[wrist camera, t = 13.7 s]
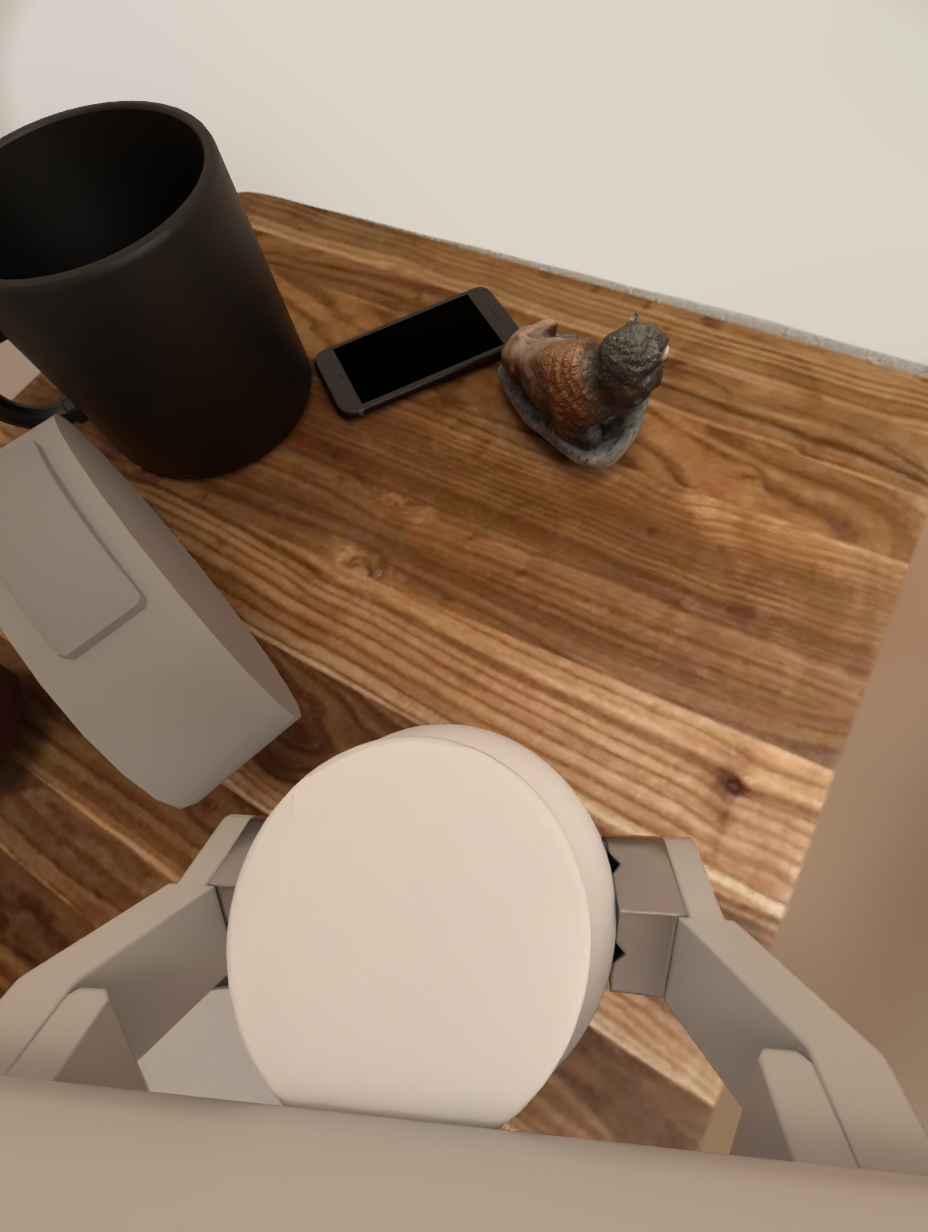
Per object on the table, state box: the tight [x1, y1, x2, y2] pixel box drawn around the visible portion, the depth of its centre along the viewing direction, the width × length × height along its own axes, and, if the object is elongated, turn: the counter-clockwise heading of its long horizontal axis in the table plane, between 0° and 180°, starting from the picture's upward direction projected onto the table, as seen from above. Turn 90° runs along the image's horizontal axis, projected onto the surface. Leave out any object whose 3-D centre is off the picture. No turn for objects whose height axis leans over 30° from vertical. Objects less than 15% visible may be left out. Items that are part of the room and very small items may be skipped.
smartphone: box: [315, 287, 519, 419], centre depth 41 cm, size 7×15×1 cm, turn 115°
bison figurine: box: [497, 312, 670, 468], centre depth 33 cm, size 12×7×10 cm, turn 35°
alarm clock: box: [0, 414, 301, 809], centre depth 28 cm, size 23×6×13 cm, turn 41°
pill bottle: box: [226, 724, 616, 1129], centre depth 10 cm, size 5×5×10 cm
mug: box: [0, 101, 311, 479], centre depth 34 cm, size 15×20×15 cm
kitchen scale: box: [137, 974, 284, 1106], centre depth 23 cm, size 13×12×3 cm
